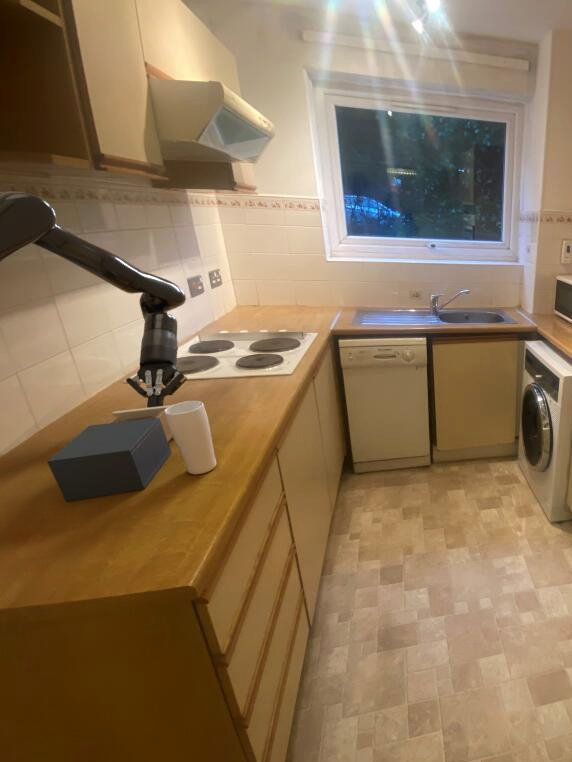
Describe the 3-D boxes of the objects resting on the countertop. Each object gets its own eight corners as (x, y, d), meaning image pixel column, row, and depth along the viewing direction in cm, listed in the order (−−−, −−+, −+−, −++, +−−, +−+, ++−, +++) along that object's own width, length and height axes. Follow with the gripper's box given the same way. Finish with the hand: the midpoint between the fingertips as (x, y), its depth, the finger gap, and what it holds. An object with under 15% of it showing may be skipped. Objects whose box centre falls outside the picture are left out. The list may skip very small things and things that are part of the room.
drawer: (132, 430, 109) (122, 404, 106) (186, 424, 112) (178, 398, 109) (95, 468, 93) (83, 438, 90) (159, 459, 96) (149, 430, 94)
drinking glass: (180, 480, 91) (158, 416, 85) (189, 463, 97) (169, 403, 91) (217, 473, 93) (199, 411, 88) (224, 457, 99) (206, 398, 93)
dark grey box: (104, 462, 97) (89, 425, 94) (171, 452, 101) (159, 417, 97) (66, 502, 84) (46, 461, 81) (144, 489, 88) (129, 450, 84)
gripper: (121, 345, 110) (114, 409, 104) (182, 341, 114) (179, 402, 108) (136, 359, 116) (131, 419, 110) (194, 354, 120) (192, 412, 114)
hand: (155, 411), depth 109 cm, fingers closed
